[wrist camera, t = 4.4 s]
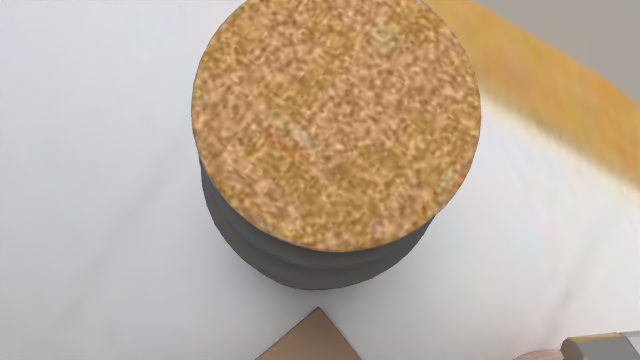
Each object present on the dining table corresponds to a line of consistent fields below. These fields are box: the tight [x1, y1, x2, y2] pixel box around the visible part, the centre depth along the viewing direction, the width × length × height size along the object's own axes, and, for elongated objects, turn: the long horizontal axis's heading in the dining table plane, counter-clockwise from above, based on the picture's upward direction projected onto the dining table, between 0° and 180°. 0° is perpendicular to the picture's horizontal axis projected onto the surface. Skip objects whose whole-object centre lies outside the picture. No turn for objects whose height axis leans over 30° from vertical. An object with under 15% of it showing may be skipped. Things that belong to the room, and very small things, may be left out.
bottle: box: [191, 0, 481, 290], centre depth 17 cm, size 6×6×15 cm
